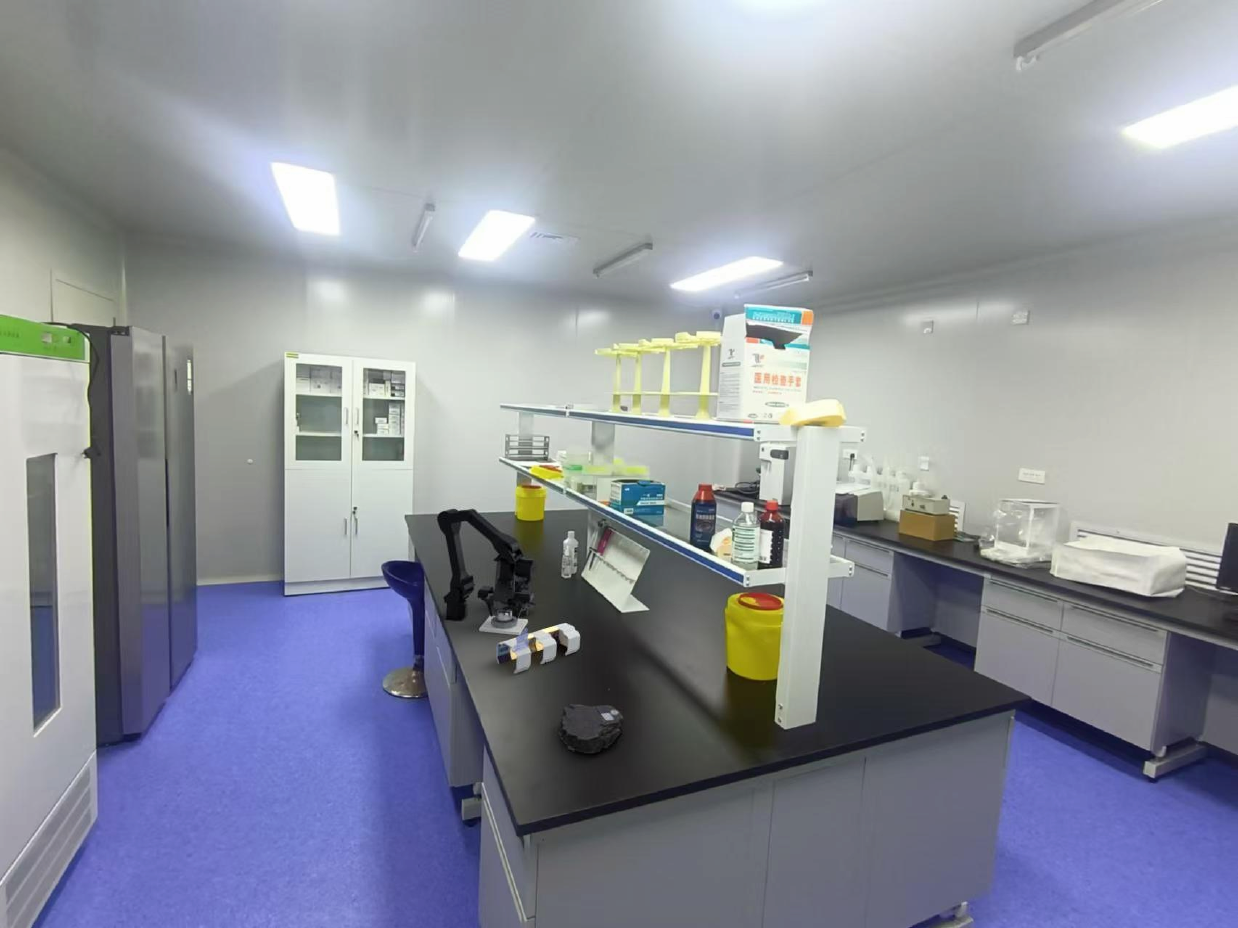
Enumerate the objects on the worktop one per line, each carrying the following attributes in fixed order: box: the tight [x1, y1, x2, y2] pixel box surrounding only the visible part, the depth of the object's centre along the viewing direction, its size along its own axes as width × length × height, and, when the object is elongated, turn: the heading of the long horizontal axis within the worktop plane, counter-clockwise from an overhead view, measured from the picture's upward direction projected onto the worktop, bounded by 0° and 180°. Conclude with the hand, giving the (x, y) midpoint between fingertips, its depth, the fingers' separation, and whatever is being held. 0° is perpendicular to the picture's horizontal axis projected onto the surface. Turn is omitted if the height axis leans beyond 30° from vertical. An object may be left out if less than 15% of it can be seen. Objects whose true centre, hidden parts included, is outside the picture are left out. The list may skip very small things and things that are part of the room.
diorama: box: [495, 622, 581, 675], centre depth 174 cm, size 25×10×13 cm, turn 137°
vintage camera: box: [493, 561, 538, 616], centre depth 211 cm, size 10×15×20 cm, turn 53°
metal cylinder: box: [496, 607, 513, 623], centre depth 196 cm, size 5×5×5 cm
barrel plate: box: [479, 615, 529, 636], centre depth 197 cm, size 14×12×2 cm
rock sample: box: [558, 703, 625, 754], centre depth 135 cm, size 18×16×5 cm
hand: (504, 617), depth 196 cm, fingers open, 9 cm apart
